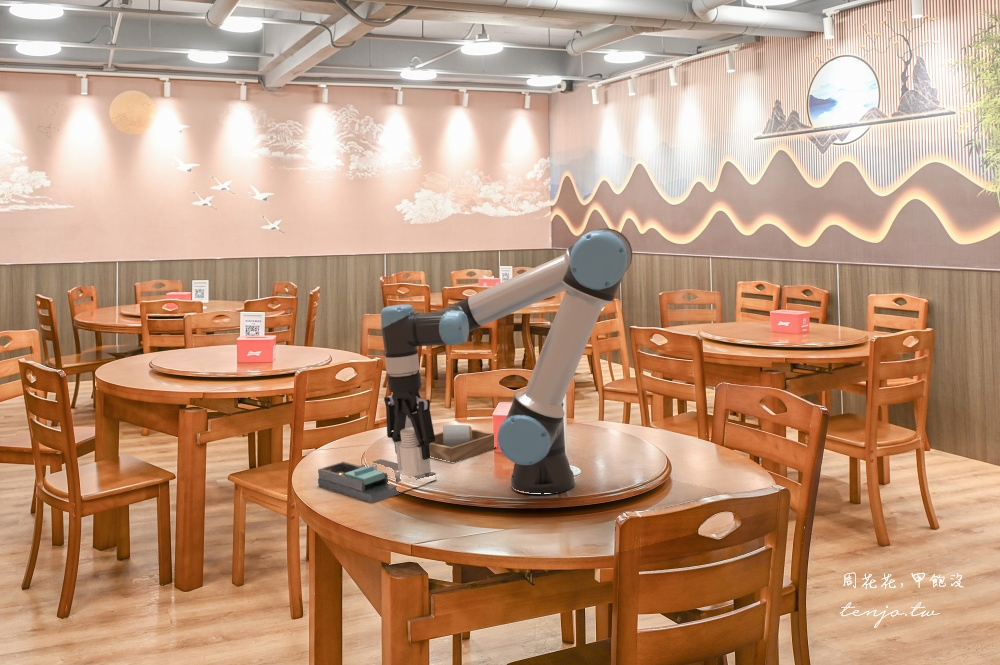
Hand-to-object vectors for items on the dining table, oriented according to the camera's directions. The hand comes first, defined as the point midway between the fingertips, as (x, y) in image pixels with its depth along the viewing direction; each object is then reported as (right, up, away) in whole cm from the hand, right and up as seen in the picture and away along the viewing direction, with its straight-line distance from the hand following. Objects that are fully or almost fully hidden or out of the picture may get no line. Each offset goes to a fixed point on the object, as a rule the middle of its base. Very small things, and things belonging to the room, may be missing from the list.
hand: (414, 470), depth 209 cm
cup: (-7, 0, +58) cm, 58 cm away
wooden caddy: (+8, -1, +42) cm, 43 cm away
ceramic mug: (+8, -1, +43) cm, 44 cm away
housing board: (-11, -6, +17) cm, 21 cm away
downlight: (0, -1, 0) cm, 1 cm away
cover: (-13, -4, +11) cm, 17 cm away
